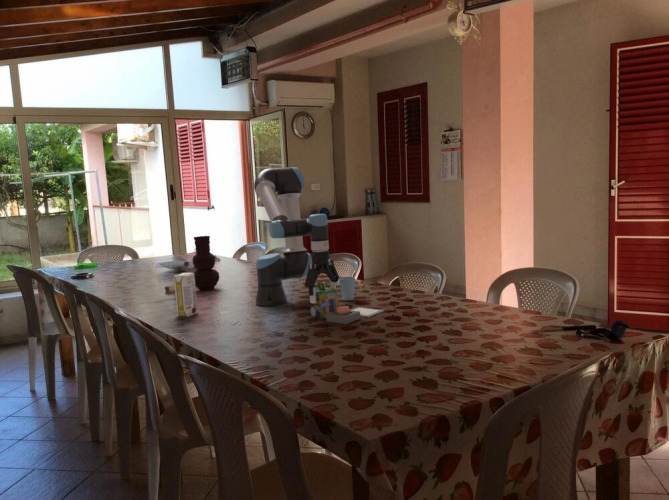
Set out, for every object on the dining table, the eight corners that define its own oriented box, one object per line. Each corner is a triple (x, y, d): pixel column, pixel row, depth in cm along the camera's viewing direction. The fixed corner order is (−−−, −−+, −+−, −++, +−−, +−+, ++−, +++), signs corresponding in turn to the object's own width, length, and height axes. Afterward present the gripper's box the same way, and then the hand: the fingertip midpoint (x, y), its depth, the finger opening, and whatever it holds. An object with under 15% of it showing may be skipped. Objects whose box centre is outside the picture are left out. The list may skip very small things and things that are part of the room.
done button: (334, 314, 236) (333, 307, 236) (342, 311, 240) (341, 305, 240) (344, 316, 233) (343, 309, 233) (351, 313, 237) (351, 306, 237)
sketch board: (342, 313, 248) (341, 312, 247) (358, 307, 257) (358, 306, 257) (368, 317, 239) (368, 316, 239) (384, 311, 248) (384, 310, 248)
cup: (359, 299, 273) (357, 278, 272) (344, 301, 270) (343, 280, 269) (352, 296, 280) (350, 275, 279) (337, 299, 277) (336, 277, 276)
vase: (226, 288, 321) (221, 235, 317) (206, 293, 308) (201, 238, 305) (206, 286, 330) (201, 234, 326) (186, 292, 317) (181, 238, 313)
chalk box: (339, 315, 244) (337, 281, 243) (320, 319, 240) (318, 285, 238) (327, 312, 252) (326, 279, 250) (309, 315, 248) (307, 282, 246)
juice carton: (200, 312, 265) (196, 272, 262) (188, 317, 257) (184, 275, 254) (187, 312, 268) (183, 272, 265) (174, 316, 260) (171, 275, 258)
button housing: (326, 321, 236) (326, 314, 236) (341, 315, 244) (341, 309, 244) (345, 324, 230) (345, 317, 230) (360, 318, 238) (359, 311, 237)
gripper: (307, 254, 230) (310, 306, 233) (345, 247, 250) (348, 294, 252) (293, 254, 235) (297, 305, 238) (332, 246, 254) (334, 293, 257)
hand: (323, 299), depth 245 cm, fingers open, 13 cm apart
